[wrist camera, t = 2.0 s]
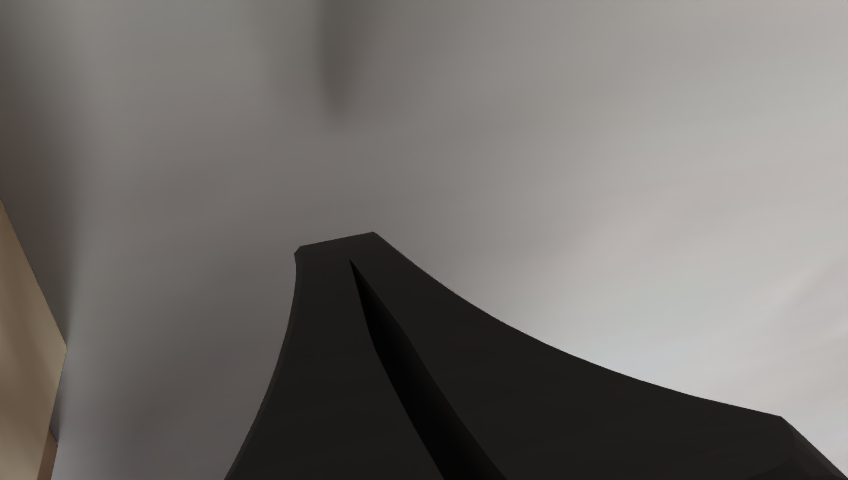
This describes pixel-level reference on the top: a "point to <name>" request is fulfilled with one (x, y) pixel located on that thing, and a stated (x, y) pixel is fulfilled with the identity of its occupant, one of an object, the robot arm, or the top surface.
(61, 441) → the top surface
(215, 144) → the top surface
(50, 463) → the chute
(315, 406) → the robot arm
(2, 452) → the block
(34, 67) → the top surface
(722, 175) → the top surface
